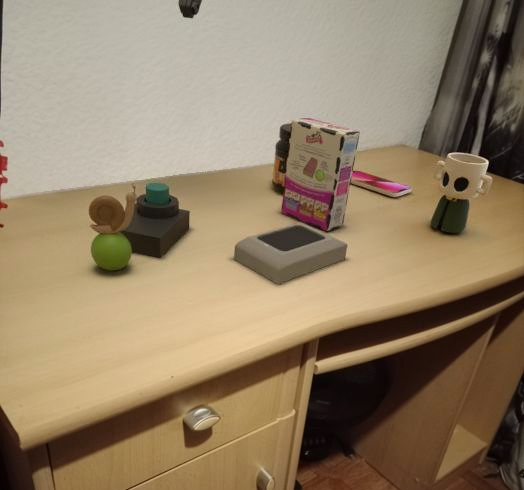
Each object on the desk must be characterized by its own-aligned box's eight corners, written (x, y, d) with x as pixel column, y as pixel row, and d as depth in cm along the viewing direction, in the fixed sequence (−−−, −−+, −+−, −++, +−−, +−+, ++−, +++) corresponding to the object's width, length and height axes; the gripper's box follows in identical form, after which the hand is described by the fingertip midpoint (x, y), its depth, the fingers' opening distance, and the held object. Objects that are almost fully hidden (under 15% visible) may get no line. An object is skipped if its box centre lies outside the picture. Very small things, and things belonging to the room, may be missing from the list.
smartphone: (356, 169, 124) (413, 187, 116) (355, 174, 125) (412, 192, 117) (337, 175, 119) (395, 194, 111) (336, 179, 120) (394, 198, 112)
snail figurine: (141, 275, 75) (138, 190, 68) (93, 278, 73) (85, 191, 66) (137, 258, 79) (134, 176, 72) (91, 260, 78) (83, 176, 71)
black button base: (141, 218, 92) (139, 188, 89) (191, 227, 91) (191, 198, 88) (104, 246, 82) (102, 214, 79) (160, 257, 80) (160, 226, 77)
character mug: (411, 222, 102) (429, 152, 95) (432, 215, 106) (451, 147, 99) (462, 243, 96) (486, 169, 88) (482, 235, 100) (506, 164, 93)
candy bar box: (344, 226, 97) (362, 131, 88) (327, 232, 94) (344, 134, 85) (296, 207, 103) (308, 115, 94) (279, 212, 100) (290, 118, 91)
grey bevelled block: (348, 237, 84) (280, 260, 75) (344, 259, 86) (277, 284, 77) (304, 216, 89) (235, 236, 80) (301, 237, 91) (233, 259, 82)
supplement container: (260, 186, 111) (266, 124, 105) (297, 179, 117) (304, 120, 111) (295, 202, 105) (303, 138, 98) (332, 194, 111) (342, 133, 104)
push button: (151, 196, 88) (151, 181, 86) (172, 200, 87) (172, 185, 86) (142, 203, 85) (141, 187, 83) (163, 207, 84) (163, 191, 83)
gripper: (169, -110, 82) (137, -13, 79) (253, -102, 79) (224, -2, 77) (181, -63, 89) (153, 27, 86) (259, -55, 87) (232, 38, 84)
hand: (186, 13), depth 81 cm, fingers closed
